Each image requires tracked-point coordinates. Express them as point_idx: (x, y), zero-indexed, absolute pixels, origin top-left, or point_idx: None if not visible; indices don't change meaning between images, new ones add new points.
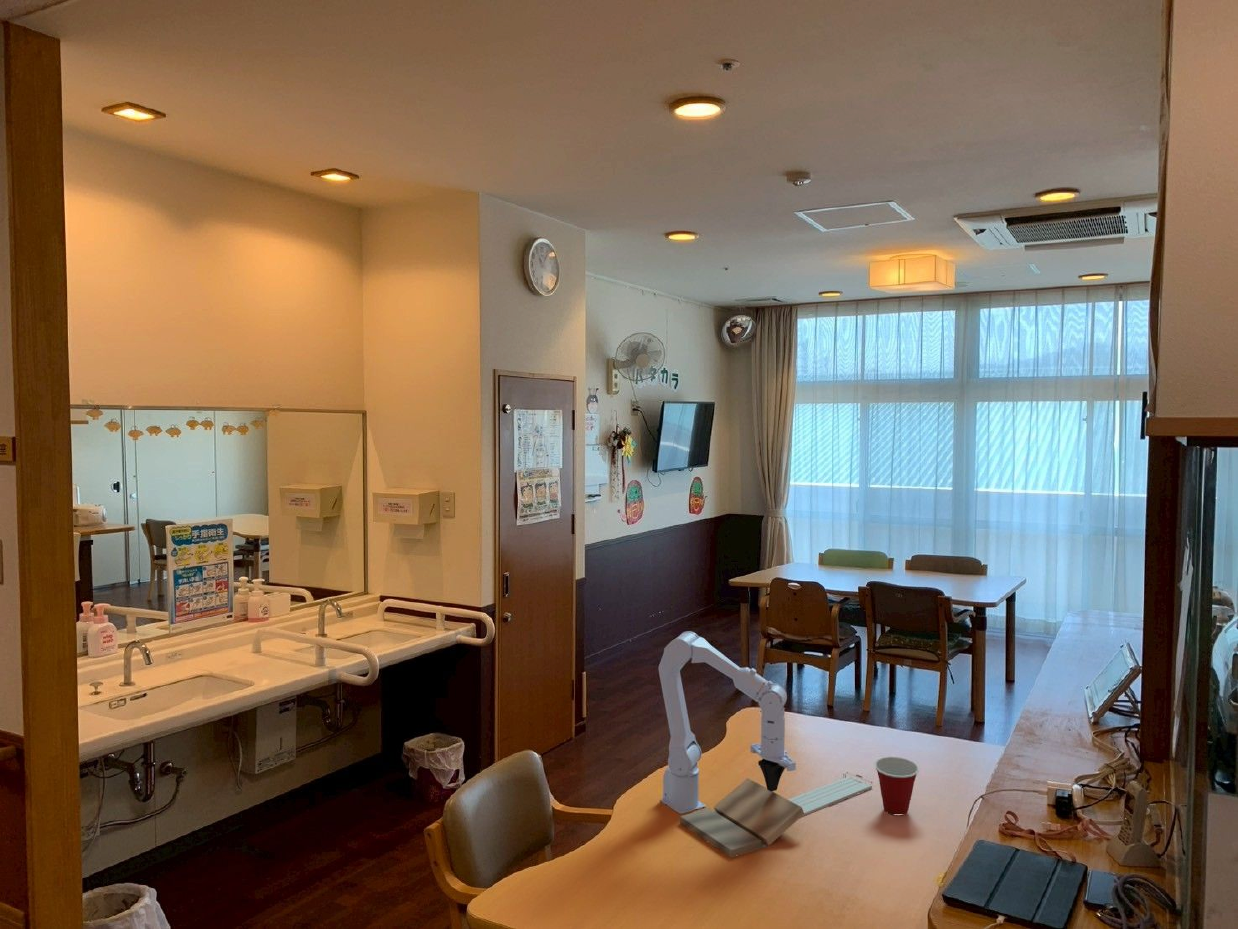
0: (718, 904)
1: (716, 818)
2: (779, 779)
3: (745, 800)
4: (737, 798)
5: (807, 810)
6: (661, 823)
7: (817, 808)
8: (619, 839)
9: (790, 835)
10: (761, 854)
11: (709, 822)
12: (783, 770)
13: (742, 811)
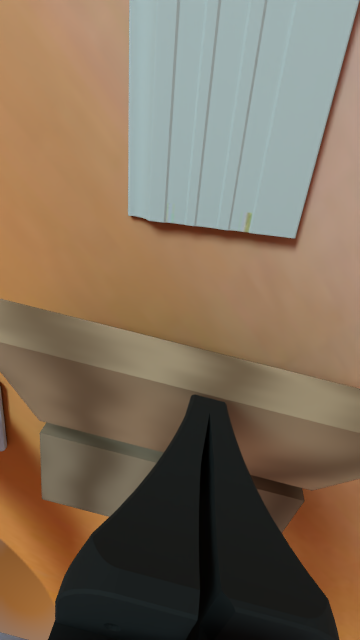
0: (337, 624)
1: (110, 468)
2: (243, 463)
3: (113, 415)
4: (73, 407)
5: (311, 130)
6: (26, 492)
7: (350, 33)
8: (45, 558)
9: (336, 368)
10: (314, 492)
11: (116, 490)
12: (286, 548)
13: (149, 437)
